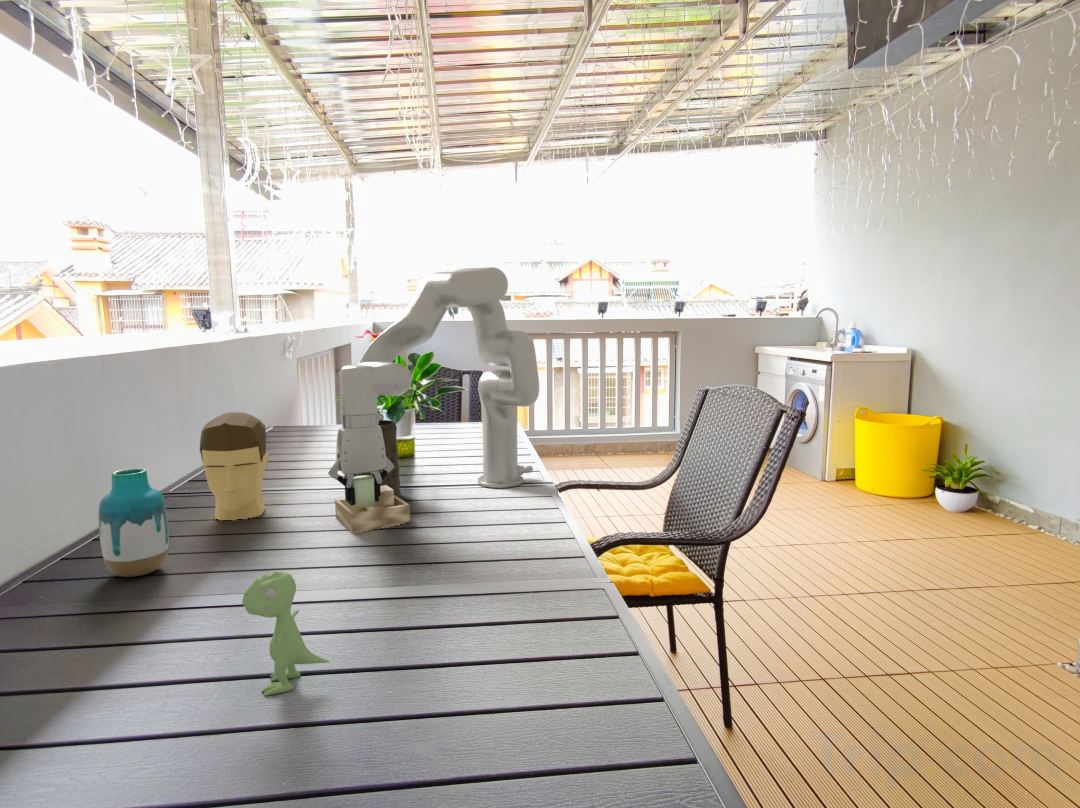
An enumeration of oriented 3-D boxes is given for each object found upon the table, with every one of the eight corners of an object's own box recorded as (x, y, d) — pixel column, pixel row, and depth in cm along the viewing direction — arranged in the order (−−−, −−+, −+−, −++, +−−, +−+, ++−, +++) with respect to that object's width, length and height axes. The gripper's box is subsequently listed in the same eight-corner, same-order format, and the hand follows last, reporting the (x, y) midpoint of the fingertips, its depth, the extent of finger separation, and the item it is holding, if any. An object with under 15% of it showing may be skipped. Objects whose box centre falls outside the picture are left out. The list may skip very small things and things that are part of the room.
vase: (185, 566, 124) (176, 467, 121) (134, 588, 114) (123, 480, 111) (142, 559, 127) (133, 463, 125) (90, 580, 117) (78, 476, 115)
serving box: (389, 509, 159) (389, 491, 159) (410, 523, 149) (409, 504, 148) (335, 518, 152) (334, 500, 152) (353, 533, 142) (352, 514, 141)
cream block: (387, 509, 157) (386, 485, 156) (394, 514, 153) (393, 489, 152) (366, 513, 154) (365, 488, 153) (373, 518, 150) (372, 493, 149)
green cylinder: (370, 500, 150) (369, 474, 149) (378, 505, 146) (377, 479, 145) (348, 503, 147) (347, 477, 146) (355, 509, 143) (354, 482, 142)
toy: (247, 684, 85) (237, 573, 82) (305, 660, 90) (297, 555, 88) (270, 707, 80) (261, 590, 77) (330, 680, 85) (323, 570, 83)
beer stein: (409, 492, 174) (401, 417, 171) (396, 503, 163) (388, 424, 161) (353, 494, 176) (344, 421, 173) (337, 506, 165) (327, 428, 162)
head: (193, 530, 140) (188, 412, 140) (212, 516, 160) (208, 413, 160) (263, 523, 143) (258, 409, 144) (273, 511, 164) (269, 411, 164)
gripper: (391, 415, 152) (393, 492, 154) (315, 422, 143) (320, 504, 145) (403, 420, 146) (405, 500, 148) (325, 427, 136) (329, 512, 139)
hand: (363, 501), depth 147 cm, fingers closed on green cylinder, 4 cm apart
